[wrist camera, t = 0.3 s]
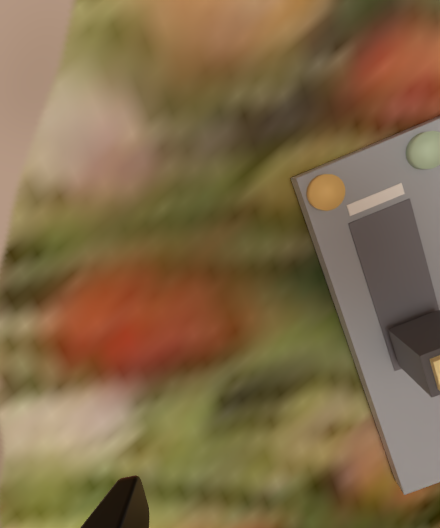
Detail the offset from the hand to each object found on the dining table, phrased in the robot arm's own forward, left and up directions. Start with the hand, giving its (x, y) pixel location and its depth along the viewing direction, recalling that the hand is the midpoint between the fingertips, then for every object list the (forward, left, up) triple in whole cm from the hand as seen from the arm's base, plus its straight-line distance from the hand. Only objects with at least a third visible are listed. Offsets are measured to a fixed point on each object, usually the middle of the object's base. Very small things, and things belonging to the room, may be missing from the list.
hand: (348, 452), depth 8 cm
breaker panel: (-7, -10, -13) cm, 18 cm away
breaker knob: (-7, -7, -12) cm, 15 cm away
